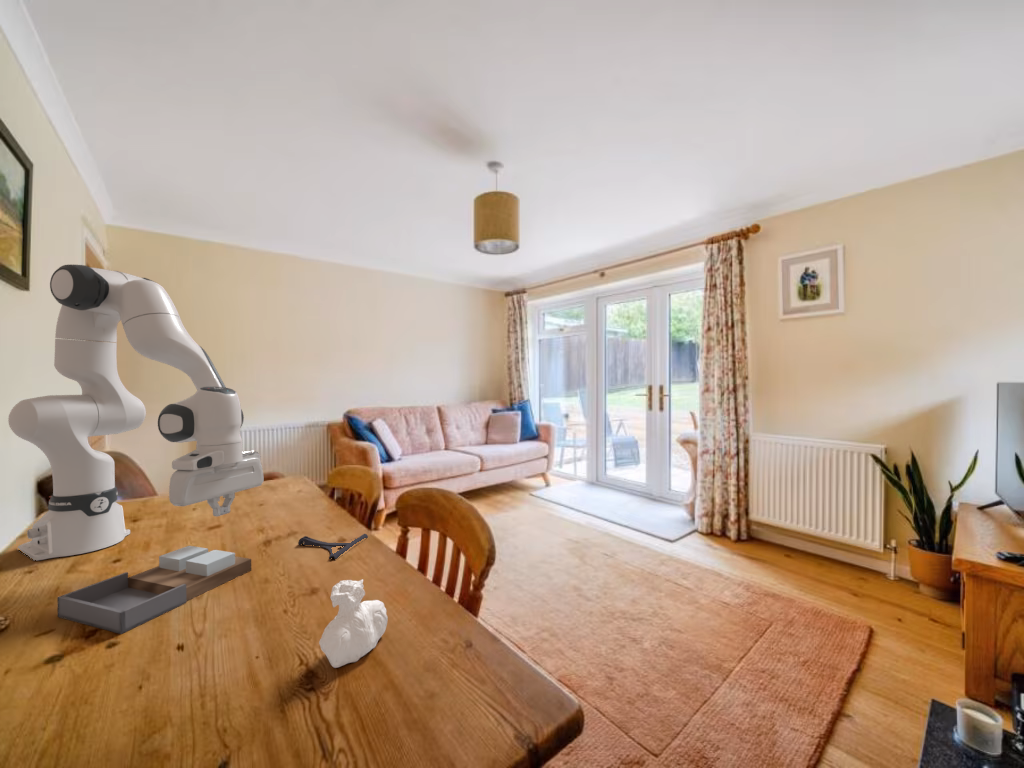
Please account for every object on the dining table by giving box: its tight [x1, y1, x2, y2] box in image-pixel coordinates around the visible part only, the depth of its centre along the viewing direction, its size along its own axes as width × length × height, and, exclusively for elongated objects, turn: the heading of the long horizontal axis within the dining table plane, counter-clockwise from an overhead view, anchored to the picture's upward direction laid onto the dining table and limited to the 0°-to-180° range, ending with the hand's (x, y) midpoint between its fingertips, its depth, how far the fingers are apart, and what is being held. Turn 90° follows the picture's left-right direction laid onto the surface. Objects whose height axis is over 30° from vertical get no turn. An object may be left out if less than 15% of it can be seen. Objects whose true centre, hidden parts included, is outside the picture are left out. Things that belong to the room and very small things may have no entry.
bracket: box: [297, 533, 369, 560], centre depth 105 cm, size 14×15×3 cm
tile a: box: [158, 545, 209, 571], centre depth 90 cm, size 6×6×2 cm
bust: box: [318, 579, 389, 669], centre depth 64 cm, size 12×8×11 cm
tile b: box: [186, 549, 236, 576], centre depth 87 cm, size 6×6×2 cm
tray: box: [56, 571, 187, 635], centre depth 76 cm, size 17×10×4 cm, turn 72°
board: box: [128, 555, 252, 602], centre depth 87 cm, size 16×14×2 cm
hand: (221, 514), depth 97 cm, fingers closed
